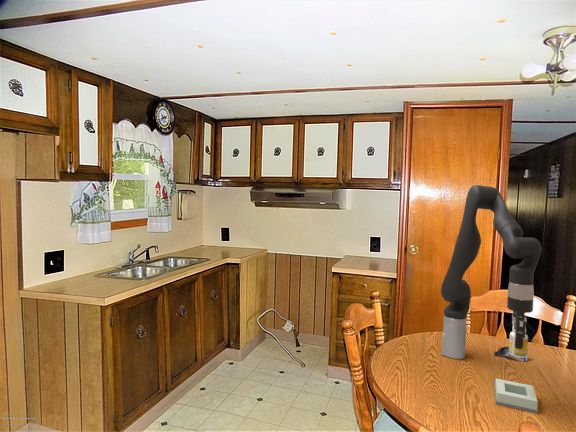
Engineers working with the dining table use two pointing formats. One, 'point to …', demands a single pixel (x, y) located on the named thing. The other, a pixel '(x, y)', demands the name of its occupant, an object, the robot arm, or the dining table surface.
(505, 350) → the snack package
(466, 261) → the robot arm
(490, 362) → the dining table surface
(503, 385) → the socket board
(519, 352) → the supplement bottle
